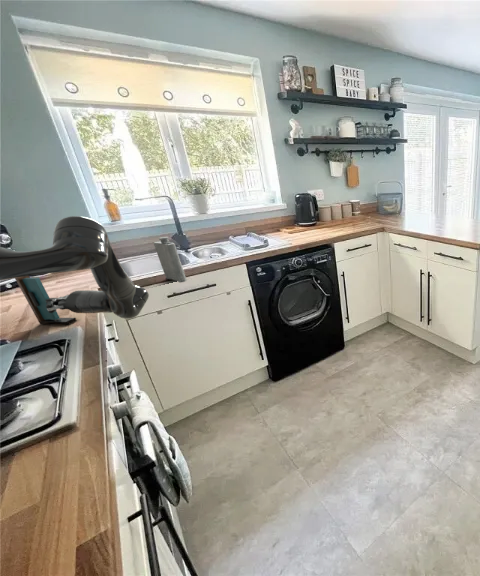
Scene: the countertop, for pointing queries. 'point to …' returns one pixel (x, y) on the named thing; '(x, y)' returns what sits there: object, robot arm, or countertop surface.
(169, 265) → the hip flask
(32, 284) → the door
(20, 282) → the door frame
